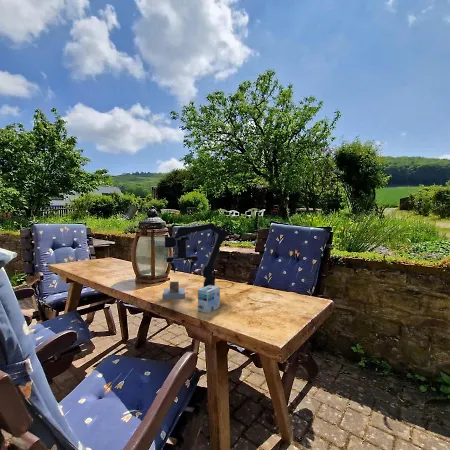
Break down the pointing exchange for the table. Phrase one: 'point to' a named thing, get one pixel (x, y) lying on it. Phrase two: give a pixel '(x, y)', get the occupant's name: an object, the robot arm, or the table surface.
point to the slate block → (174, 294)
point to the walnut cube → (174, 287)
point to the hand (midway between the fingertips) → (182, 272)
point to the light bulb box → (208, 298)
